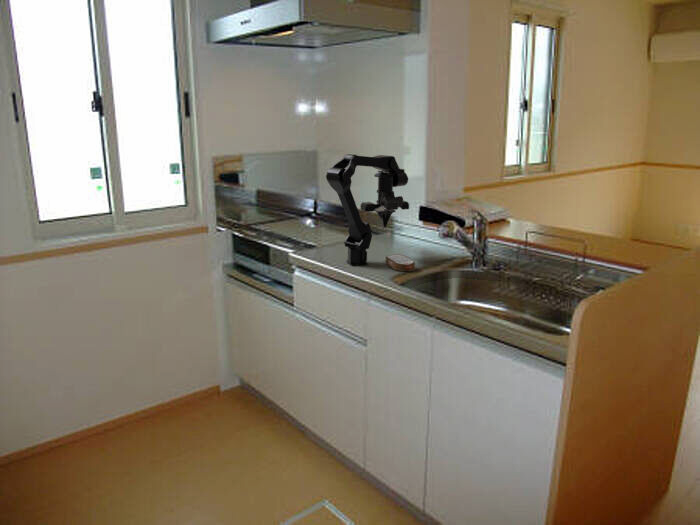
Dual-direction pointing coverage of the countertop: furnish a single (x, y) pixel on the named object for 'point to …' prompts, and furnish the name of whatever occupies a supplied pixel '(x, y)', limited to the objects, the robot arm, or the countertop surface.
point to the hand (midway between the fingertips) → (384, 227)
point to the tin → (400, 262)
